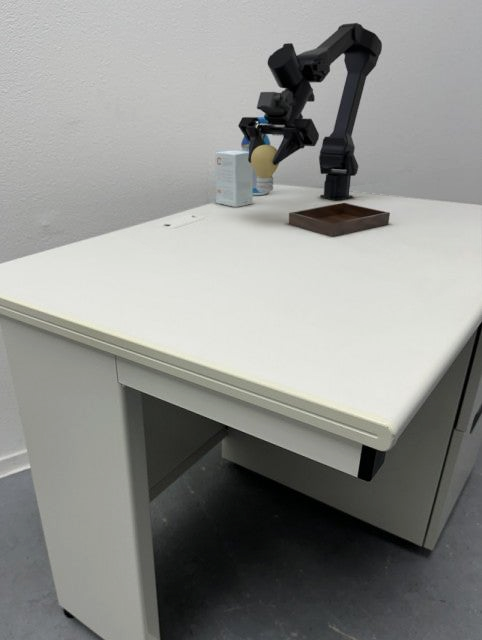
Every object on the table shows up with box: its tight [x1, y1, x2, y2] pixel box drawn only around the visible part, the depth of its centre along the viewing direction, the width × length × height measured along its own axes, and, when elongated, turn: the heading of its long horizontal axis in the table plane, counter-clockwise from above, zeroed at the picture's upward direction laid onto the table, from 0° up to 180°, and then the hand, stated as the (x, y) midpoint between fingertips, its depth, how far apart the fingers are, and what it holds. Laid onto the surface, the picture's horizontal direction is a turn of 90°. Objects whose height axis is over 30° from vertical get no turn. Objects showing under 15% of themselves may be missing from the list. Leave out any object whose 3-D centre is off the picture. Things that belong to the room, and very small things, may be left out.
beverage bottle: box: [240, 116, 271, 196], centre depth 154 cm, size 8×8×20 cm
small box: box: [215, 149, 254, 208], centre depth 144 cm, size 8×6×13 cm
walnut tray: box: [287, 202, 391, 238], centre depth 123 cm, size 17×14×3 cm
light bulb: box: [251, 144, 280, 193], centre depth 122 cm, size 6×6×10 cm
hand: (261, 162), depth 121 cm, fingers closed on light bulb, 6 cm apart
